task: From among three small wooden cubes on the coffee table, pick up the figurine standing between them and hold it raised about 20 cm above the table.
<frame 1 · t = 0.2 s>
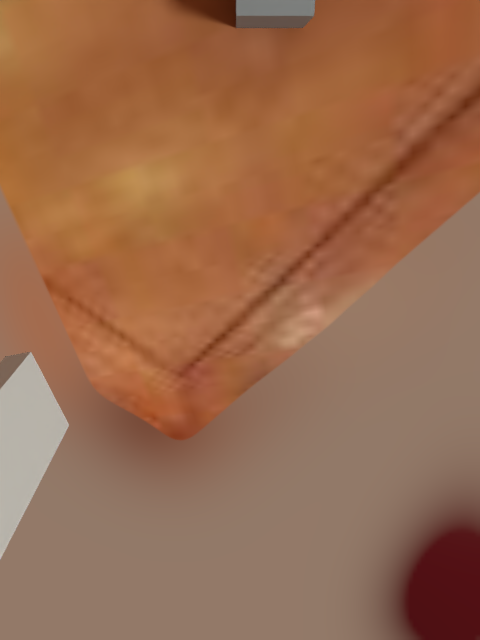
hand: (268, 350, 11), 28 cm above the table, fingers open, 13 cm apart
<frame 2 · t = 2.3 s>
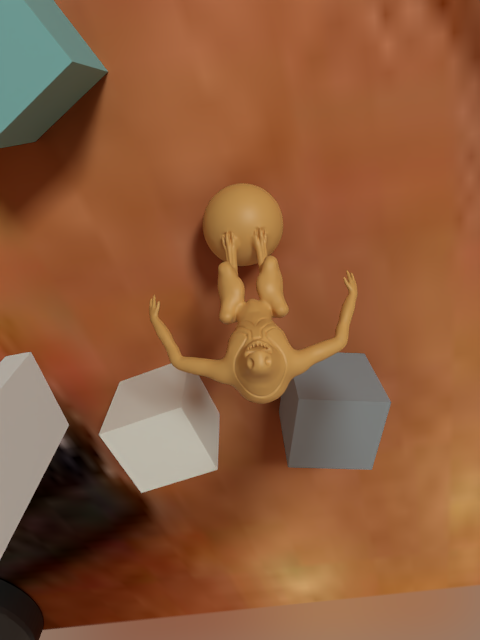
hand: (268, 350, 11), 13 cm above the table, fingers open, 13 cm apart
cube offwhite: (171, 397, 28), on the table
cube teal: (29, 58, 19), on the table
figurine: (243, 233, 23), on the table
cube slate: (319, 383, 28), on the table
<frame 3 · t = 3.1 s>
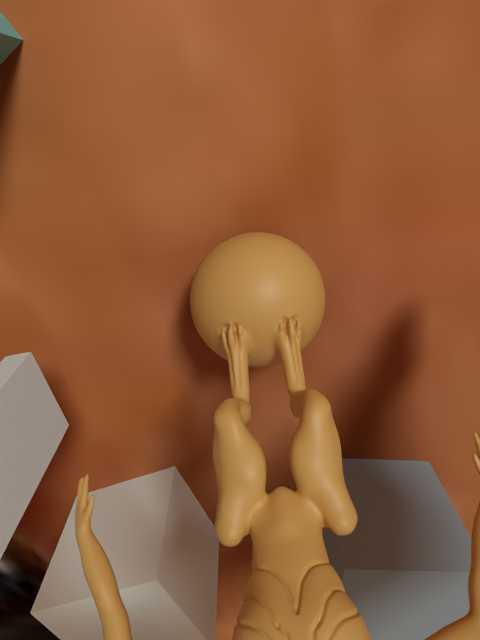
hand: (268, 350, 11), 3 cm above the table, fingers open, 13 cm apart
cube offwhite: (150, 514, 20), on the table
figurine: (256, 300, 15), on the table
cube slate: (361, 496, 19), on the table
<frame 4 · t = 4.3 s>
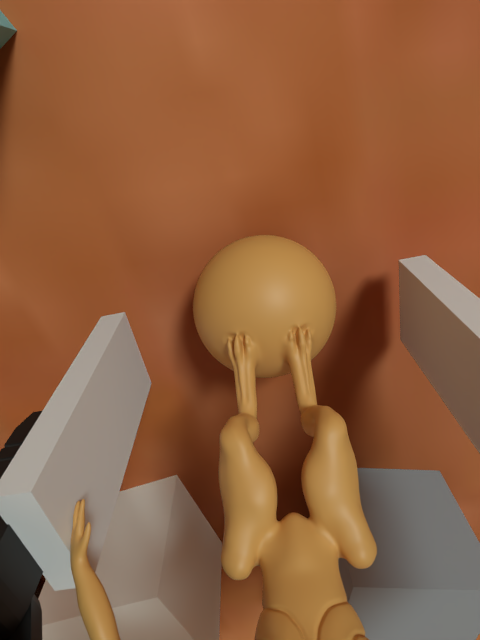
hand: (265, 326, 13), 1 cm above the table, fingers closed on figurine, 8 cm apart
cube offwhite: (151, 523, 19), on the table
figurine: (262, 305, 14), on the table, touching gripper
cube slate: (369, 506, 19), on the table
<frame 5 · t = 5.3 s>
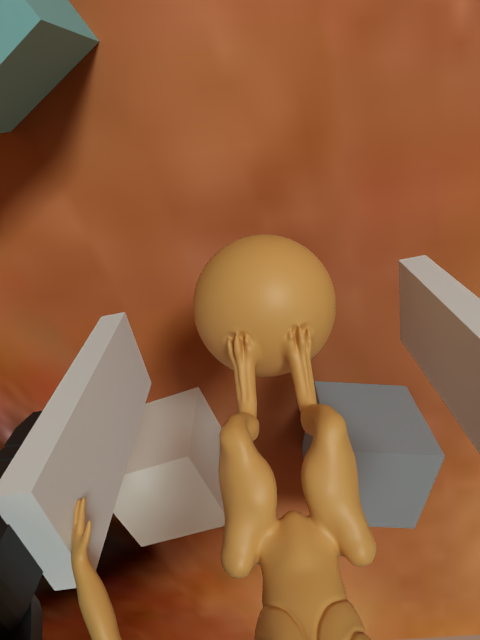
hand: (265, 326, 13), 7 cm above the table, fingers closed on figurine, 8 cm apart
cube offwhite: (177, 430, 24), on the table
cube teal: (0, 24, 15), on the table
figurine: (262, 304, 14), point 5 cm above the table, touching gripper
cube slate: (351, 417, 24), on the table
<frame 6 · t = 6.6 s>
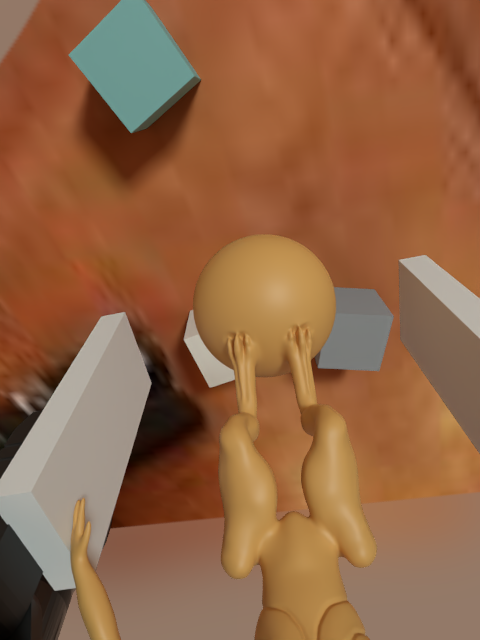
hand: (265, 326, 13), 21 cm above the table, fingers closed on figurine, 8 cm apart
cube offwhite: (227, 324, 37), on the table
cube teal: (148, 71, 28), on the table
figurine: (262, 304, 14), point 20 cm above the table, touching gripper
cube slate: (340, 313, 36), on the table
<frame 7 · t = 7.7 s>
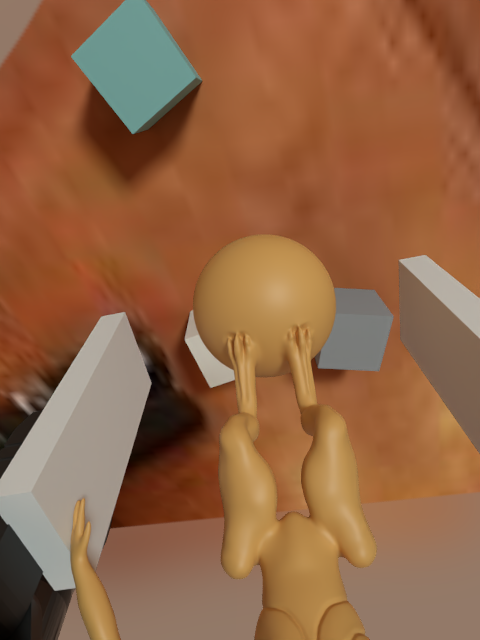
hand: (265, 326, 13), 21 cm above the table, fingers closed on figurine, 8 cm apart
cube offwhite: (227, 324, 37), on the table
cube teal: (150, 72, 28), on the table
figurine: (262, 304, 14), point 20 cm above the table, touching gripper
cube slate: (340, 314, 37), on the table
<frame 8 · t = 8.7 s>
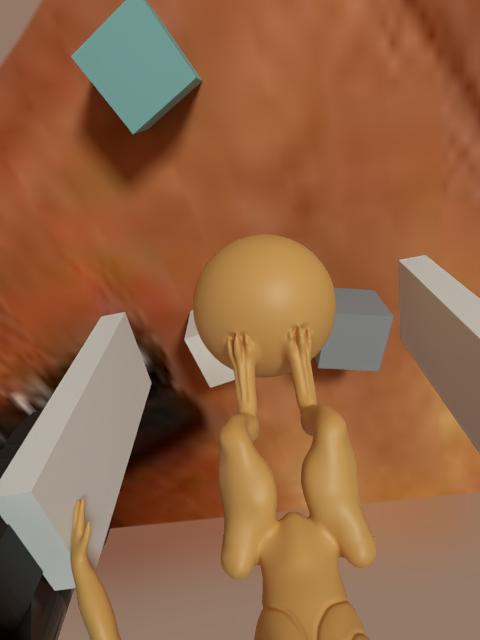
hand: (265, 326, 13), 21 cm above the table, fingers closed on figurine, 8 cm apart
cube offwhite: (227, 324, 37), on the table
cube teal: (150, 72, 28), on the table
figurine: (262, 304, 14), point 20 cm above the table, touching gripper
cube slate: (340, 314, 37), on the table
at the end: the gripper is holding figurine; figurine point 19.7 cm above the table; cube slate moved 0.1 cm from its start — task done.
